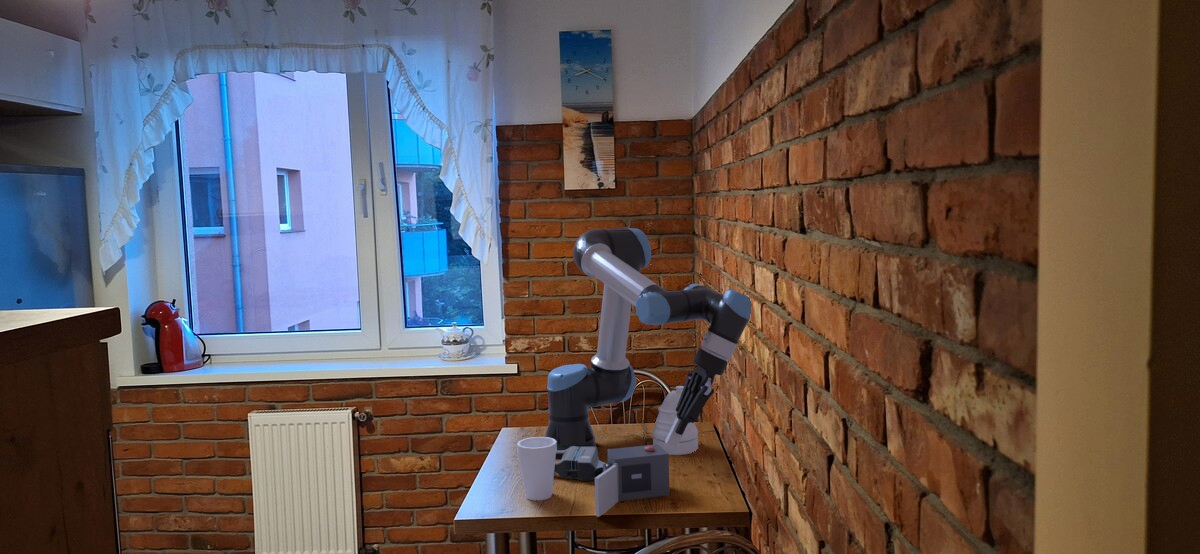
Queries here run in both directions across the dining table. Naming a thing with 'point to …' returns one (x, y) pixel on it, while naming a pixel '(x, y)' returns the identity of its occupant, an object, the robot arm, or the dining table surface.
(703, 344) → the robot arm
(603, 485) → the side door
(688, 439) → the honey pot
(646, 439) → the dining table surface
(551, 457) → the foam cup
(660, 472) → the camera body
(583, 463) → the camcorder
